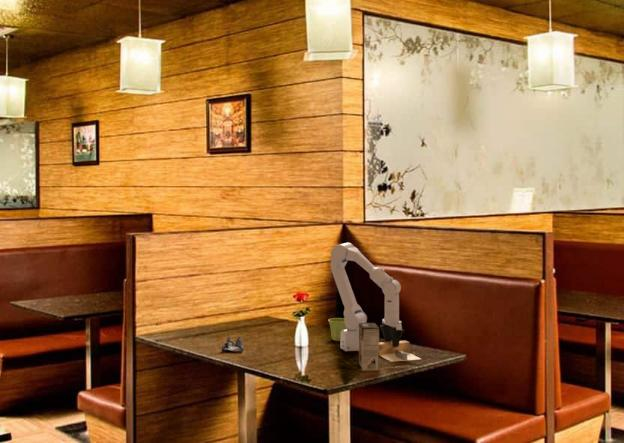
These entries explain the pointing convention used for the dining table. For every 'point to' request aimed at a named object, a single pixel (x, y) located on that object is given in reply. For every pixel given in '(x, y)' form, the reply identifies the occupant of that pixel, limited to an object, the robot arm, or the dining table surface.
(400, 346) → the oak bar
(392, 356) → the serving board
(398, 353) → the fulcrum strip
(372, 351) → the coffee box
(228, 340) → the grey irregular piece
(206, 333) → the dining table surface
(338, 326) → the plant pot
